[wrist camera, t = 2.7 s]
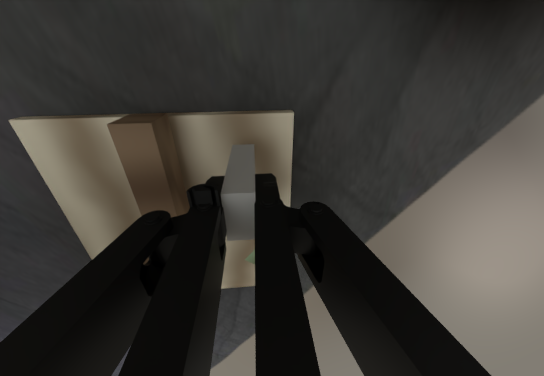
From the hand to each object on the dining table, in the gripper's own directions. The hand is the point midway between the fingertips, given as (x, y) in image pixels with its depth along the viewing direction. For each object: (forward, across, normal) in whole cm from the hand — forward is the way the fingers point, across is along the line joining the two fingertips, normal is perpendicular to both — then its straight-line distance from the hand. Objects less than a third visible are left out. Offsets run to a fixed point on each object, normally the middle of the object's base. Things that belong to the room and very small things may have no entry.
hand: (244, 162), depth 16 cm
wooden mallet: (+4, -7, -8) cm, 11 cm away
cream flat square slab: (+5, -7, -8) cm, 12 cm away
